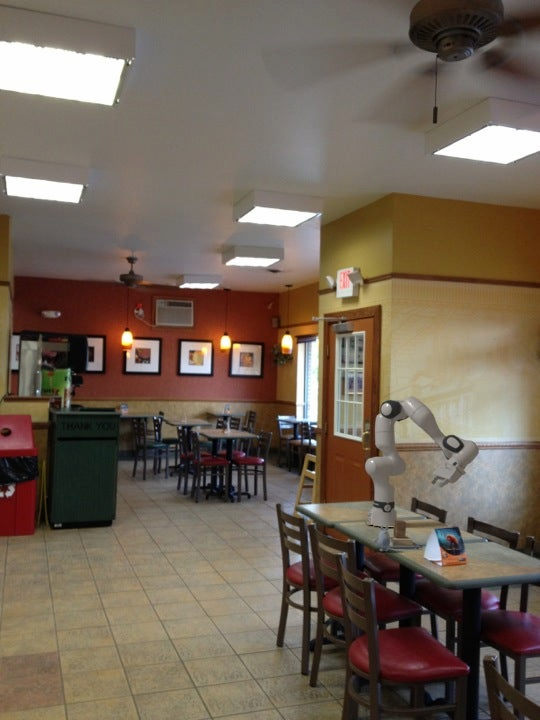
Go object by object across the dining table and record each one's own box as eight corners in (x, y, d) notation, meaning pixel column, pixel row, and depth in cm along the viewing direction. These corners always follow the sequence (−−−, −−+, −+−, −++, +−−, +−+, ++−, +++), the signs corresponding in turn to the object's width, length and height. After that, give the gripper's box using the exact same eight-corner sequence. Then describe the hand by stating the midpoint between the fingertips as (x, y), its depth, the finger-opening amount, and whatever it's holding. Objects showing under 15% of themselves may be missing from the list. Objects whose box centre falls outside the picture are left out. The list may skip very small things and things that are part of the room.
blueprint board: (379, 541, 337) (379, 538, 337) (409, 541, 340) (409, 539, 340) (390, 548, 321) (390, 546, 321) (421, 549, 324) (421, 546, 324)
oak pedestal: (385, 540, 333) (386, 534, 333) (404, 541, 335) (404, 534, 335) (393, 545, 323) (393, 539, 323) (412, 546, 325) (412, 539, 325)
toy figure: (375, 552, 312) (376, 527, 313) (370, 549, 318) (371, 524, 319) (396, 552, 314) (397, 527, 315) (391, 549, 320) (392, 524, 321)
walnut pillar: (393, 536, 331) (394, 520, 331) (401, 536, 332) (402, 520, 332) (396, 538, 327) (397, 522, 327) (405, 538, 328) (406, 522, 328)
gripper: (441, 459, 353) (423, 477, 351) (459, 464, 333) (440, 483, 331) (449, 468, 353) (431, 486, 351) (467, 473, 333) (448, 492, 331)
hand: (435, 485), depth 341 cm, fingers open, 8 cm apart
